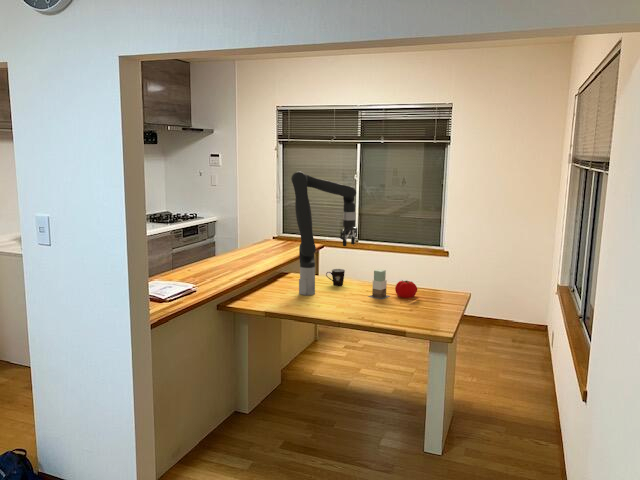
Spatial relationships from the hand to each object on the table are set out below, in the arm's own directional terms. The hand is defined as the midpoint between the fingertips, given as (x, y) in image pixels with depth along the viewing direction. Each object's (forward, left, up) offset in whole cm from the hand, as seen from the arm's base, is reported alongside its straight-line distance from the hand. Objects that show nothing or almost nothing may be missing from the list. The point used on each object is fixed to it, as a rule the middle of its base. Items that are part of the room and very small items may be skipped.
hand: (348, 245), depth 327 cm
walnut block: (+3, -21, -29) cm, 36 cm away
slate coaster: (+3, -21, -30) cm, 37 cm away
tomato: (+14, -33, -30) cm, 47 cm away
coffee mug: (+11, +18, -30) cm, 37 cm away
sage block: (+3, -21, -19) cm, 29 cm away
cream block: (+3, -21, -24) cm, 32 cm away
